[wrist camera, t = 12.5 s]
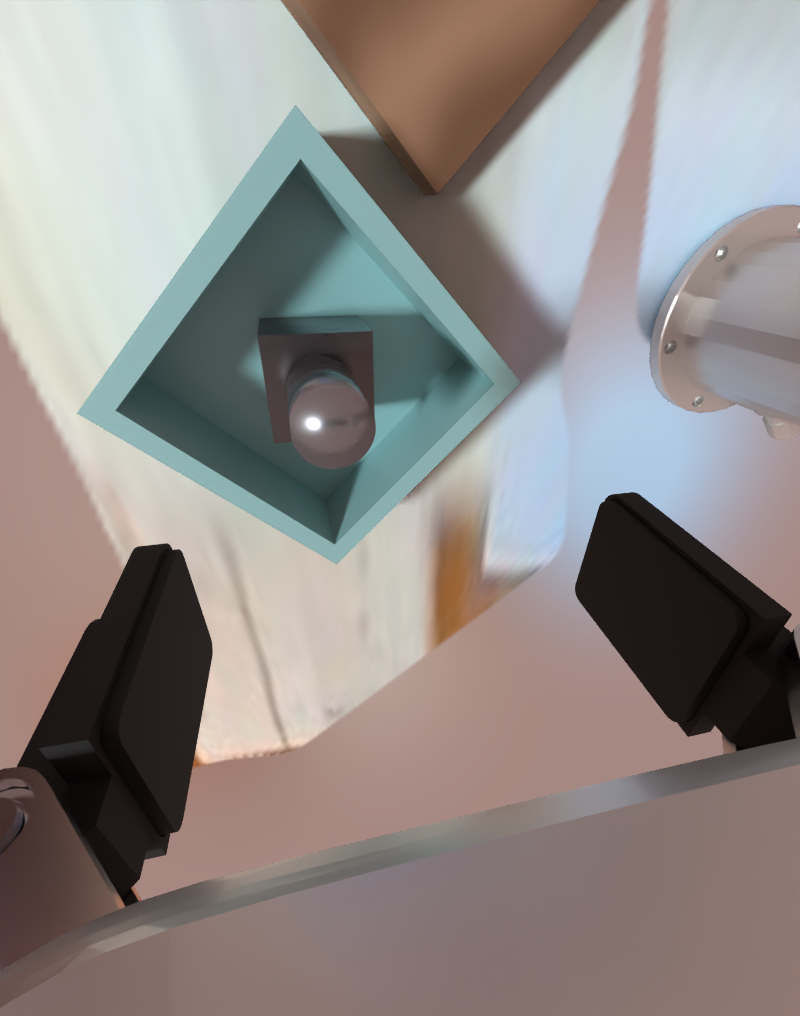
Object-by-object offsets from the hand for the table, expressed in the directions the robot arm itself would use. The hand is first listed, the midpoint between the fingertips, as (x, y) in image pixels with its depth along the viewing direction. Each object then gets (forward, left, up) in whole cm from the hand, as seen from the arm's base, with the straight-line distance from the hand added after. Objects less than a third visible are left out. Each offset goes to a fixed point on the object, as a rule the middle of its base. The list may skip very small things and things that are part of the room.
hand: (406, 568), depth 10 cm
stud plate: (+8, -15, -19) cm, 25 cm away
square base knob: (0, 0, -18) cm, 17 cm away
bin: (+1, +1, -19) cm, 18 cm away
